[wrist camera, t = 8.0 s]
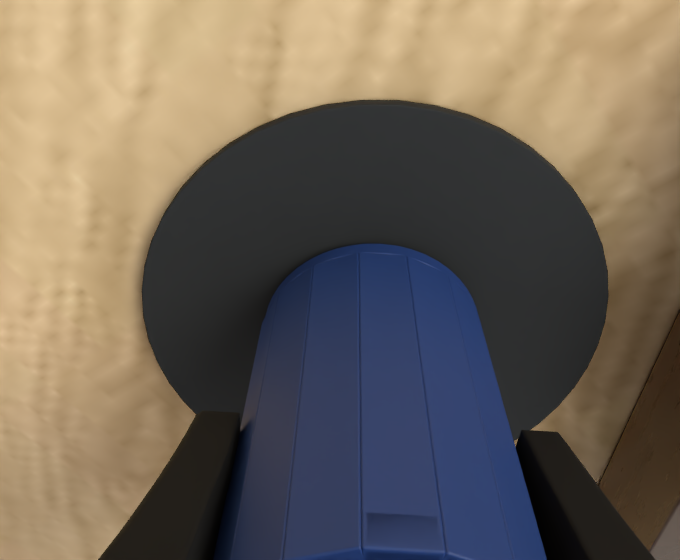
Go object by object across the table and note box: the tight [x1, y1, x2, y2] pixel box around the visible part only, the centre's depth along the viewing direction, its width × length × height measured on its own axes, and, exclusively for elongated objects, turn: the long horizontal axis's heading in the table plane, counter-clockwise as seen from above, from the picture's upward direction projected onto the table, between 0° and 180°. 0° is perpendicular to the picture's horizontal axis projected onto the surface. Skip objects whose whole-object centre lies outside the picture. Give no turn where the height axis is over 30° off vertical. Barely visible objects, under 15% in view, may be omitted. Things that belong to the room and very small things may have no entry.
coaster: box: [142, 100, 608, 440], centre depth 13 cm, size 10×10×1 cm
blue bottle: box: [213, 244, 547, 560], centre depth 10 cm, size 5×5×8 cm
